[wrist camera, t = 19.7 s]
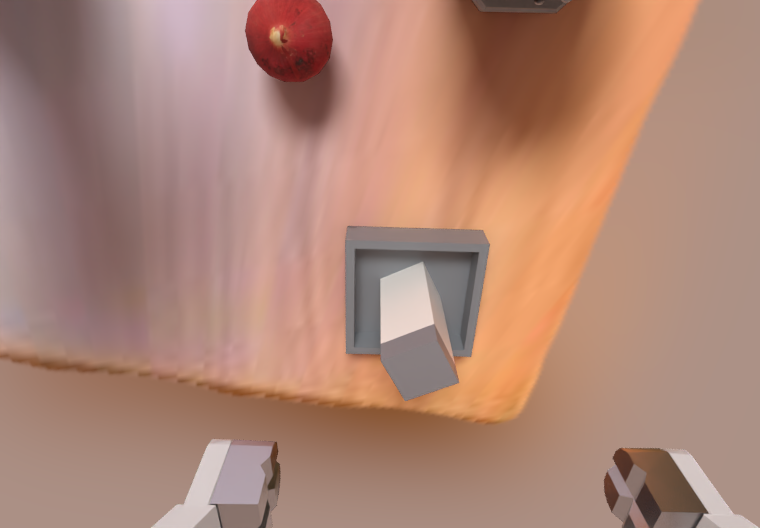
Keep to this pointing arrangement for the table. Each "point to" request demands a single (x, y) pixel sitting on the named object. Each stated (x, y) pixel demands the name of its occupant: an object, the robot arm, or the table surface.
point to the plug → (415, 333)
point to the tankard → (520, 5)
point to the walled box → (402, 250)
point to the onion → (289, 38)
